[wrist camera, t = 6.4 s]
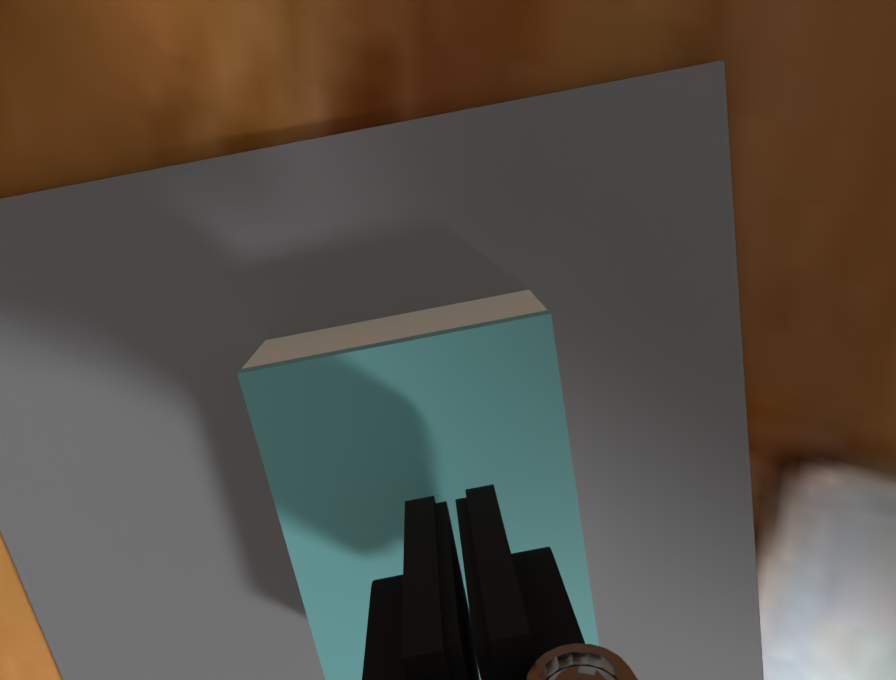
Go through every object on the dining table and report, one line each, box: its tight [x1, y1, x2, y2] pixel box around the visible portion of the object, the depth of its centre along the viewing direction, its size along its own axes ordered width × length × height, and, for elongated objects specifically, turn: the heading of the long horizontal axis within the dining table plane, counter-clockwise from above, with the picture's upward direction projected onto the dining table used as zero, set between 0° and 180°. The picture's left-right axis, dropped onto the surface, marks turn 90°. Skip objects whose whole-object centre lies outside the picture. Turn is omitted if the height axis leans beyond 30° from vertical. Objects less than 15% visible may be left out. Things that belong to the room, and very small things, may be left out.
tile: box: [237, 290, 599, 680], centre depth 14 cm, size 2×8×6 cm
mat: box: [0, 60, 764, 680], centre depth 16 cm, size 18×16×1 cm
